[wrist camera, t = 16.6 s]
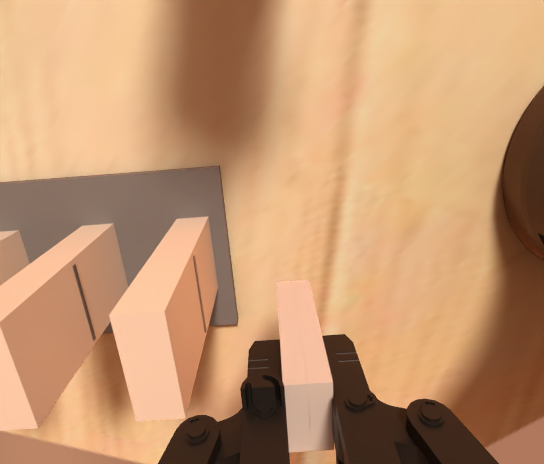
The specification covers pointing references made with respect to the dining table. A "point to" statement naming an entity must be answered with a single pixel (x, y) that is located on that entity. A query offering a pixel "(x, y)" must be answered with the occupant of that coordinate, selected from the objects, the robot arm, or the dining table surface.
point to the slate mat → (124, 217)
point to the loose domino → (11, 255)
